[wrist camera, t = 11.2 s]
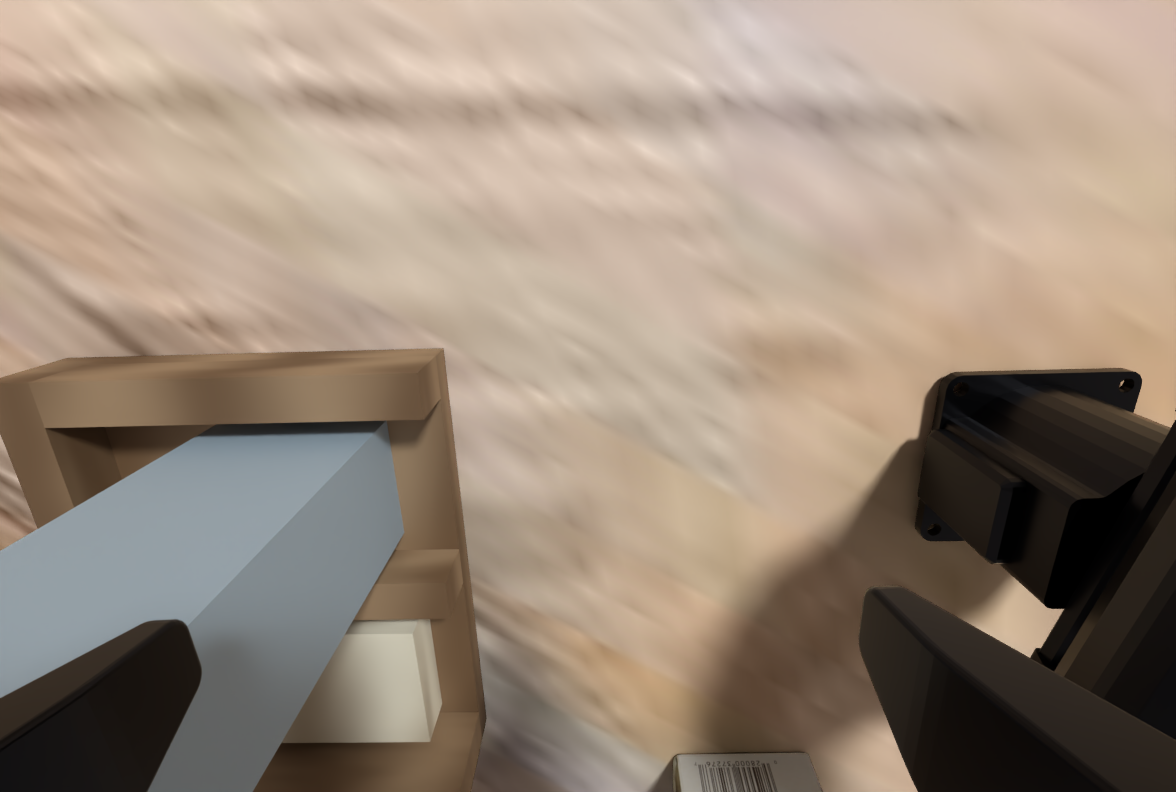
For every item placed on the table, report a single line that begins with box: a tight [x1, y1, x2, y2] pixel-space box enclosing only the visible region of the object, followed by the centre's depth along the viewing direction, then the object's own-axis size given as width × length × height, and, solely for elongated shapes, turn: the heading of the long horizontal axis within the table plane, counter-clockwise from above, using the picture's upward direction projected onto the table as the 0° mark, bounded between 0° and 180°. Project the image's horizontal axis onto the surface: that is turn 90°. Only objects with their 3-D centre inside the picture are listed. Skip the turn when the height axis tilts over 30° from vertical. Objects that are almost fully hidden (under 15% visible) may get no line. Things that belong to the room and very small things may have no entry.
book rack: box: [0, 348, 486, 792], centre depth 18 cm, size 14×17×10 cm
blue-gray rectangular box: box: [0, 421, 404, 792], centre depth 15 cm, size 6×4×12 cm
